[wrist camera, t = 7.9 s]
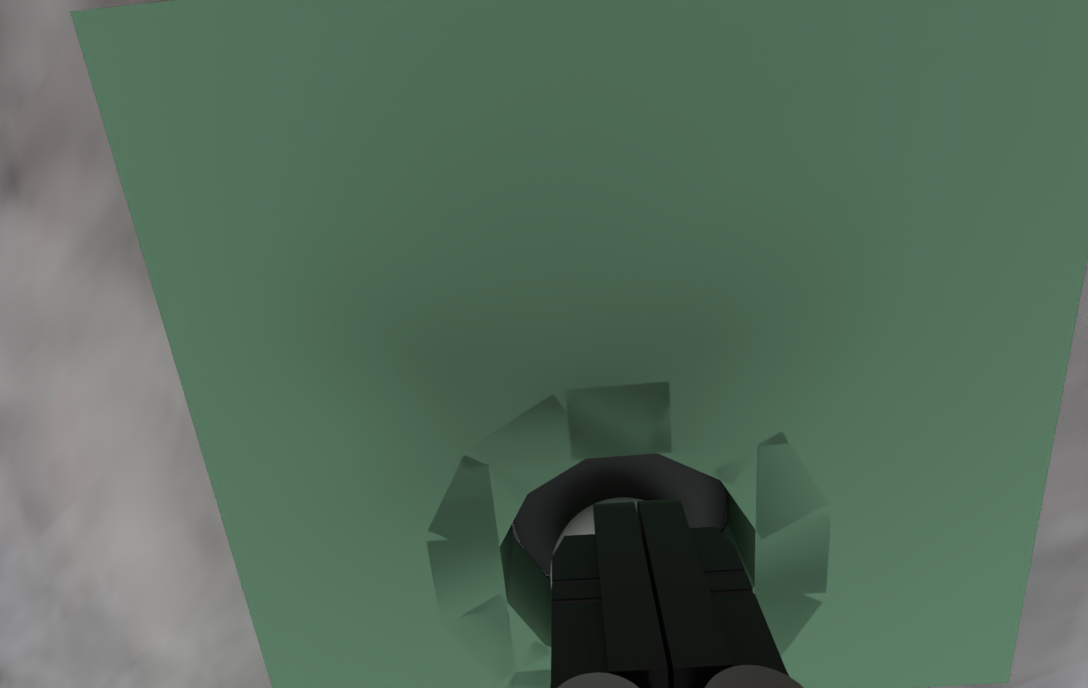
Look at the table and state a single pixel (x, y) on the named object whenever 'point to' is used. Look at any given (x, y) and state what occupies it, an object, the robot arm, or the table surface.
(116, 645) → the table surface
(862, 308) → the putting mat
